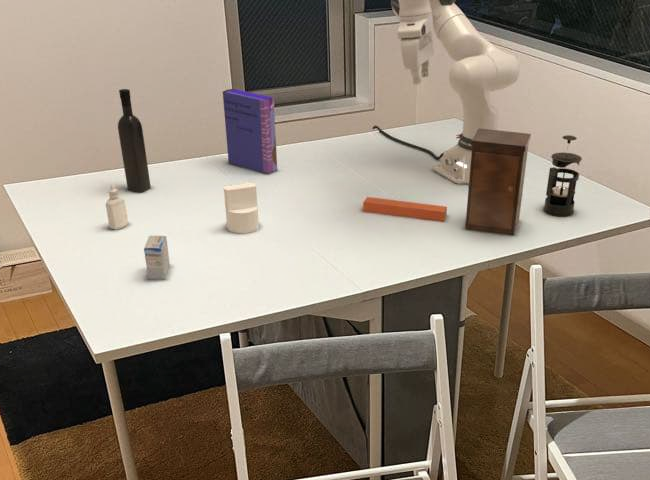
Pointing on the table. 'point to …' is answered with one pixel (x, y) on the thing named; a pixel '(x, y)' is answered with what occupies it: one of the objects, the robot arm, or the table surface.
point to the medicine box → (157, 257)
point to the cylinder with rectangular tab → (241, 208)
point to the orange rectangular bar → (405, 209)
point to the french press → (559, 196)
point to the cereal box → (250, 130)
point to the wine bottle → (132, 147)
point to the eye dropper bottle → (116, 210)
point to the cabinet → (496, 180)
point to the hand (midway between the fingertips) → (421, 80)
